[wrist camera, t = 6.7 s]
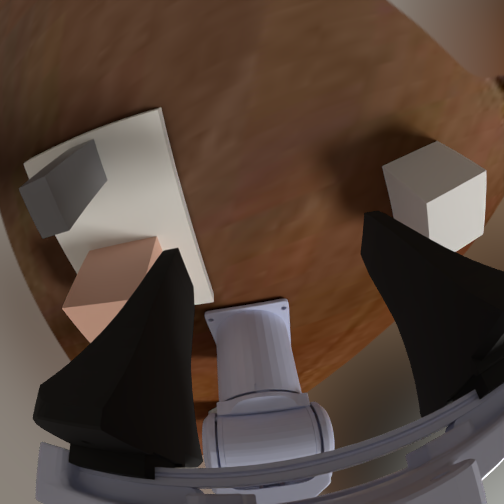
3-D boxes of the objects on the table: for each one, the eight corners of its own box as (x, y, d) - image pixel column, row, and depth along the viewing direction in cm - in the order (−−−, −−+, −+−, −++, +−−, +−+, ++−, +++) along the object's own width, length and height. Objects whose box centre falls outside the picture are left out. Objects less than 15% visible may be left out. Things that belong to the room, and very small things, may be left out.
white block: (436, 140, 18) (486, 170, 13) (443, 197, 21) (483, 233, 16) (380, 165, 19) (426, 203, 14) (394, 223, 22) (430, 267, 17)
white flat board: (213, 293, 24) (215, 362, 19) (107, 308, 24) (91, 368, 19) (161, 107, 15) (125, 132, 9) (30, 158, 15) (-27, 205, 9)
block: (180, 294, 23) (175, 355, 18) (119, 303, 23) (105, 359, 18) (156, 236, 19) (140, 298, 14) (89, 250, 19) (61, 308, 14)
